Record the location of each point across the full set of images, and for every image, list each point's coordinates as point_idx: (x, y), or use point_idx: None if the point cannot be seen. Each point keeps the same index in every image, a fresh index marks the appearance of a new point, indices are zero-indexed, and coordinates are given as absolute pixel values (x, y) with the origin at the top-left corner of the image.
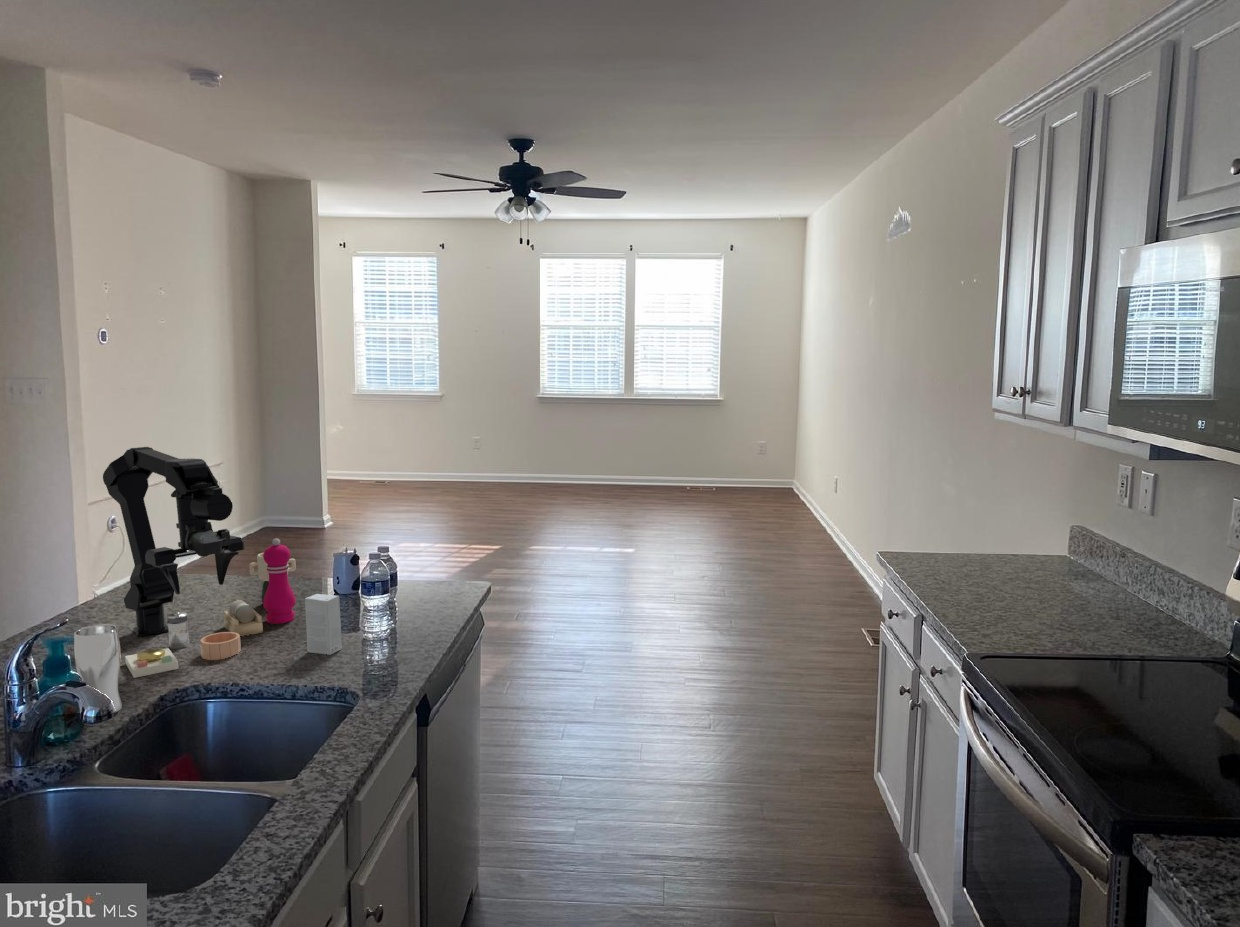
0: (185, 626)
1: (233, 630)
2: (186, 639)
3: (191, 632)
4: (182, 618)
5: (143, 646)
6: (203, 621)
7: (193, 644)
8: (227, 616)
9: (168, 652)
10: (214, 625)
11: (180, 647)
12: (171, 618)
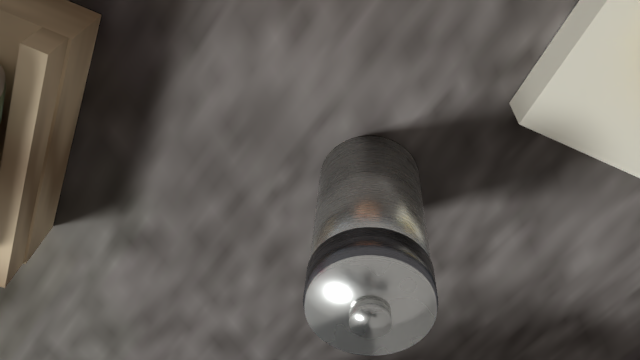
0: (355, 208)
1: (78, 57)
2: (356, 159)
3: (205, 285)
4: (378, 247)
5: (451, 308)
6: (85, 352)
7: (315, 134)
8: (24, 210)
9: (595, 44)
10: (77, 277)
11: (395, 144)
12: (433, 293)
